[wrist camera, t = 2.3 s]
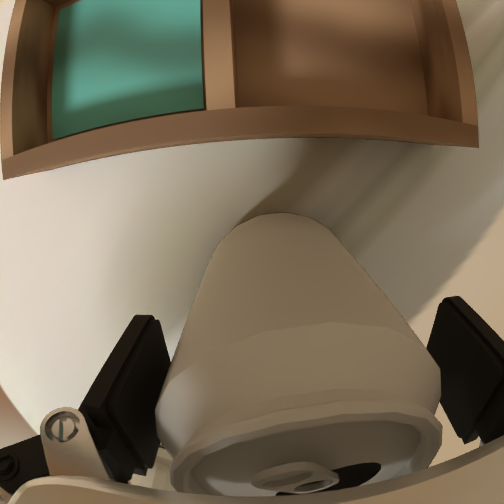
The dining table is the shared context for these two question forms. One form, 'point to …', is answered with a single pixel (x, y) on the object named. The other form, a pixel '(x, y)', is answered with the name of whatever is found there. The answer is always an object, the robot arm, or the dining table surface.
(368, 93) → the tray
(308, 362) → the can
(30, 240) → the dining table surface
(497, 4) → the dining table surface
